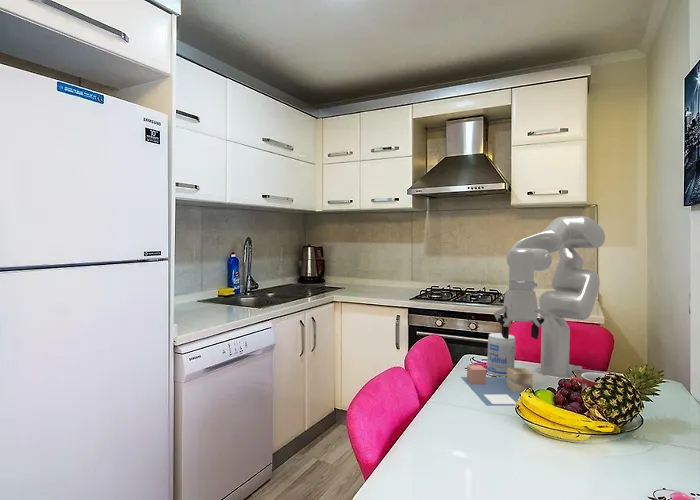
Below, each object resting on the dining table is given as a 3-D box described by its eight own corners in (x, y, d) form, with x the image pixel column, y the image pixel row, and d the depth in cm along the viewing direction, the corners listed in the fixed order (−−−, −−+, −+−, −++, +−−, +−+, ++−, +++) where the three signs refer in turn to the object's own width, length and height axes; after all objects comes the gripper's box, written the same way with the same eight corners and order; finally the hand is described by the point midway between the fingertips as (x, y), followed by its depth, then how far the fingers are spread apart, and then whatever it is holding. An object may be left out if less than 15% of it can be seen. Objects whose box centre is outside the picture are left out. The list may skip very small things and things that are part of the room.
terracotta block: (480, 379, 148) (481, 365, 148) (485, 384, 143) (486, 369, 143) (466, 379, 148) (467, 365, 148) (471, 384, 143) (471, 369, 143)
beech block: (523, 385, 142) (524, 368, 142) (532, 392, 136) (532, 373, 136) (506, 385, 142) (506, 368, 142) (514, 392, 136) (514, 373, 136)
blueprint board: (515, 379, 151) (515, 376, 151) (552, 408, 125) (552, 405, 125) (460, 379, 150) (460, 376, 150) (486, 408, 124) (486, 405, 124)
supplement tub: (486, 376, 154) (487, 337, 154) (487, 369, 163) (488, 331, 163) (514, 380, 151) (515, 339, 151) (514, 372, 160) (514, 334, 160)
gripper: (541, 285, 142) (540, 335, 143) (490, 285, 142) (489, 335, 142) (552, 287, 135) (551, 340, 135) (499, 287, 134) (498, 340, 134)
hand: (519, 338), depth 139 cm, fingers open, 9 cm apart
